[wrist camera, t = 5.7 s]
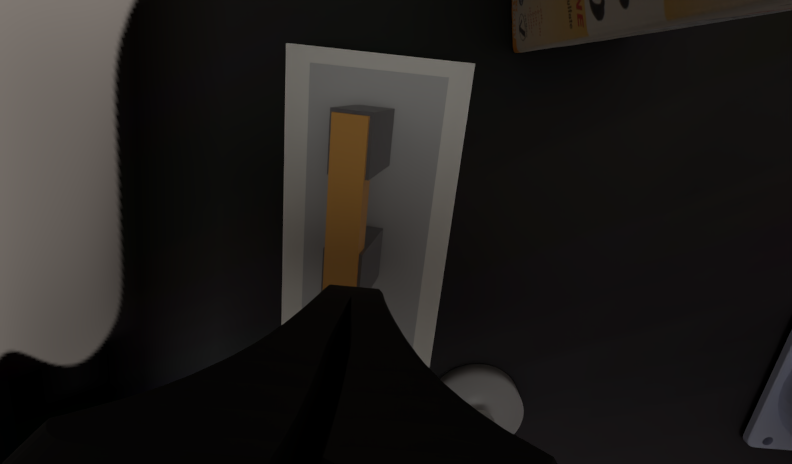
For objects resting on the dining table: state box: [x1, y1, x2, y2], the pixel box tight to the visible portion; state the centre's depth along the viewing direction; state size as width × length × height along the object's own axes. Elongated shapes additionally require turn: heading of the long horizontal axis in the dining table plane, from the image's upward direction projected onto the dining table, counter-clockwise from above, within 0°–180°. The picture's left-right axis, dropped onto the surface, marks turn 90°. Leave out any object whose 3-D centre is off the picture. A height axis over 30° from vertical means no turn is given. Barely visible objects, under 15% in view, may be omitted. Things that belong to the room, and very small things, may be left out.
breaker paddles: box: [321, 105, 395, 291], centre depth 14 cm, size 1×10×3 cm, turn 174°
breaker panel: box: [281, 43, 475, 368], centre depth 17 cm, size 6×13×3 cm, turn 174°
